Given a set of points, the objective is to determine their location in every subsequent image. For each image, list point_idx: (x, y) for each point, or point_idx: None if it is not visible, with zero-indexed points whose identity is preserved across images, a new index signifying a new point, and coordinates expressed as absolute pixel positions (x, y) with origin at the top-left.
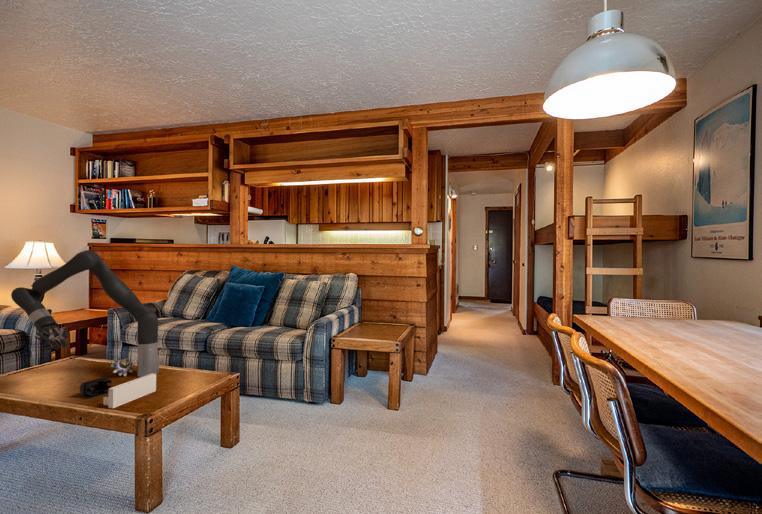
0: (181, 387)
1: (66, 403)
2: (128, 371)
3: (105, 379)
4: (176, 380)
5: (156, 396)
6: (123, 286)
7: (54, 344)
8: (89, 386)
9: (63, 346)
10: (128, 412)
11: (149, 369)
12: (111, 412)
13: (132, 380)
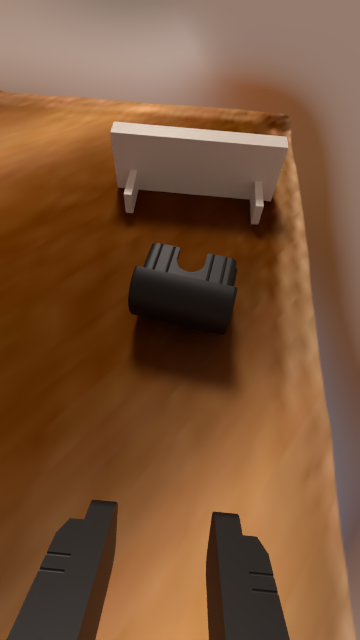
0: (83, 143)
1: (291, 331)
2: None
3: (158, 260)
4: (10, 179)
5: None
6: None
7: (269, 596)
8: (235, 268)
9: (108, 566)
10: None
11: None
12: (290, 179)
13: (197, 138)
